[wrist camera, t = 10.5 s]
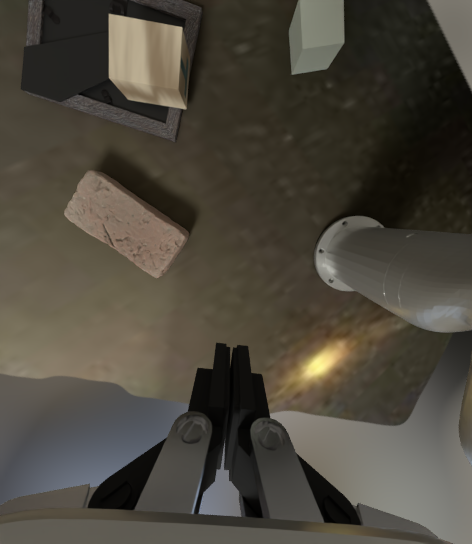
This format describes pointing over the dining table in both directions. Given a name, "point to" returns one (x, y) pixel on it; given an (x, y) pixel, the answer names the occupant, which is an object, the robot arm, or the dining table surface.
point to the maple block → (149, 61)
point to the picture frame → (97, 57)
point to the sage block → (316, 34)
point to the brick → (126, 223)
